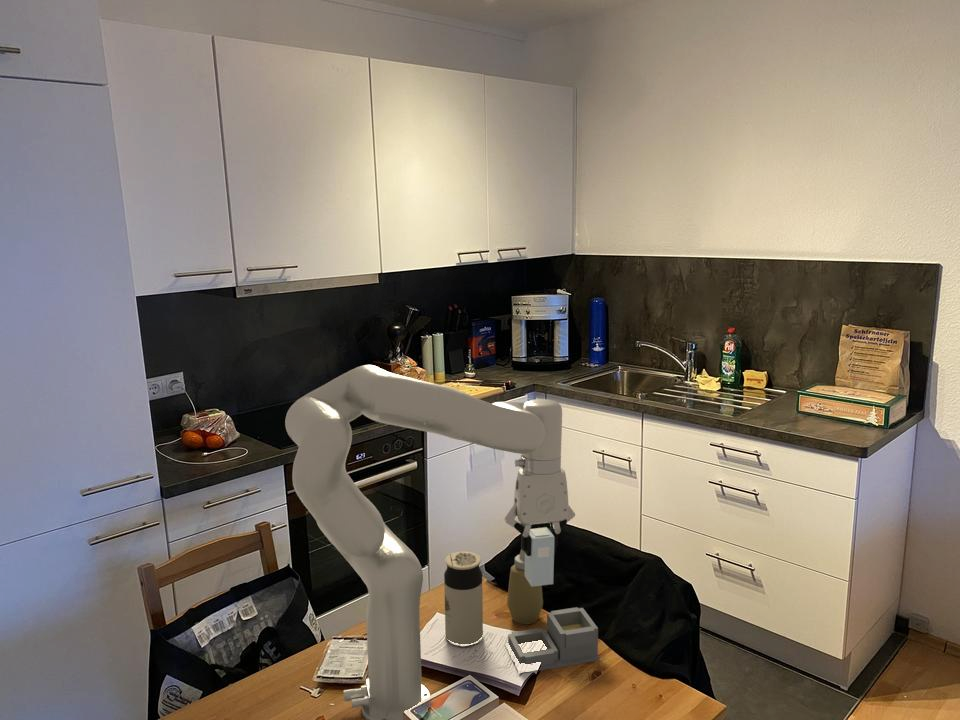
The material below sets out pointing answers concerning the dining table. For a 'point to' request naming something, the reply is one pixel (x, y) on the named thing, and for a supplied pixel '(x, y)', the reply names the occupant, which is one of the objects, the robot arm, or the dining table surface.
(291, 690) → the dining table surface
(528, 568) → the plug
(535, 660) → the block
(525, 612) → the squeeze bottle
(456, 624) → the travel mug
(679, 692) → the dining table surface
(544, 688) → the dining table surface
